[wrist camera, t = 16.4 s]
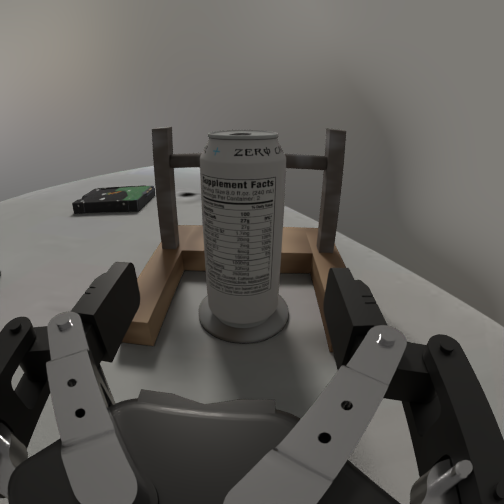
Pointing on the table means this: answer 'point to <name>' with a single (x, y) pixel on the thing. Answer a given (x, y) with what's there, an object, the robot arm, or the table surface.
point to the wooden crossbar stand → (193, 257)
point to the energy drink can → (242, 224)
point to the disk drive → (114, 199)
